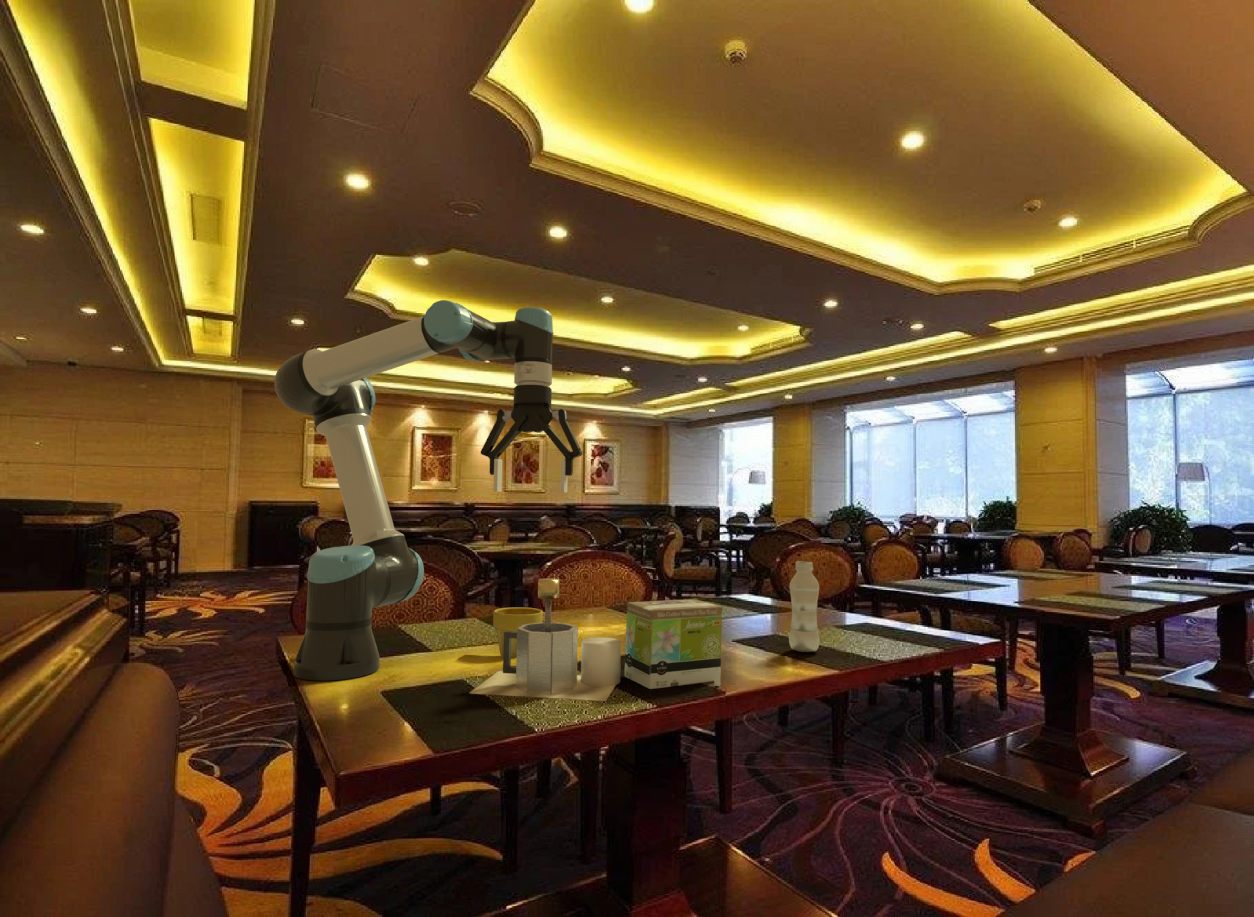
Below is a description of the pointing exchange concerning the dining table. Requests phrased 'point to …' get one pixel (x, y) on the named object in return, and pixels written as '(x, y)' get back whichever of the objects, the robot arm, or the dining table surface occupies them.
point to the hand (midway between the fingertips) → (530, 492)
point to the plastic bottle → (804, 609)
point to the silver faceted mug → (543, 658)
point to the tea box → (673, 643)
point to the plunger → (548, 597)
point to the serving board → (507, 687)
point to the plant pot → (514, 623)
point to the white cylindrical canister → (600, 661)
